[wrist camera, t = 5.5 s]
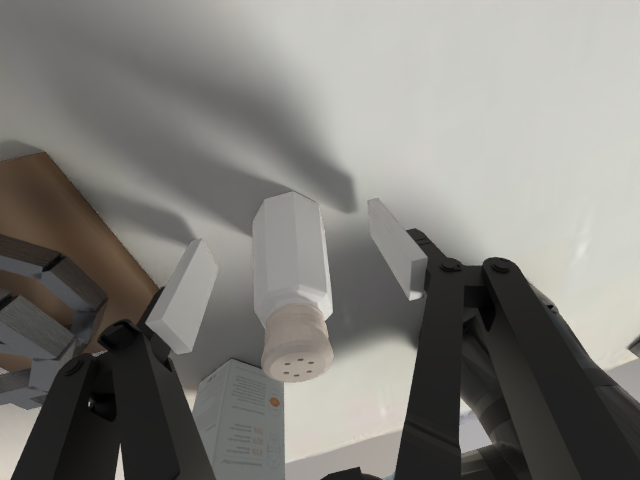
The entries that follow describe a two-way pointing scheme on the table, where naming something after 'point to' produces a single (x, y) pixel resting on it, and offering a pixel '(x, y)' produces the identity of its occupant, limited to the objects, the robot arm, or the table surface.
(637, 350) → the parts tray
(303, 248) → the pepper shaker
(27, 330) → the collar frame
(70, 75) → the table surface
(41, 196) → the collar base
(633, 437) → the robot arm
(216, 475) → the small box
